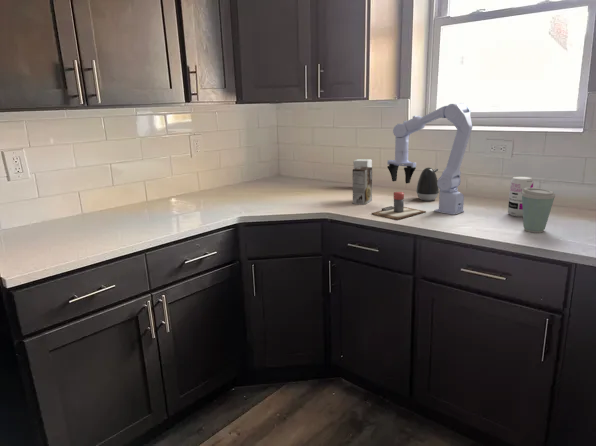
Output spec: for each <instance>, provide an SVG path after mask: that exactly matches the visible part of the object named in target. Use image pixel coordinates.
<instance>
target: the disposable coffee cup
mask: <svg viewBox="0 0 596 446" xmlns="http://www.w3.org/2000/svg"><path fill="white" fill-rule="evenodd" d="M521 195H522V206H523V217H522V220H523V222H522V223H523V226H522V227H523V228H524V231H525V232H529V233H536V234H537V233H538V234H540V233H543V232H545V230H546V227H547V223H548V220H549V218H550V213H551V210H552V208H553V207H552V206H553V204H554V201H555V198H556V193H554V191H552V190H549V189H545V188H540V187H533V188H524V189H523V191H522V193H521Z"/></svg>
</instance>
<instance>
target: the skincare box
mask: <svg viewBox="0 0 596 446" xmlns="http://www.w3.org/2000/svg"><path fill="white" fill-rule="evenodd" d="M352 162H353V169H355V168H358V167H372V168H373V160H372V159H370V158H369V159H368V158H366V159H365V158H361V159H360V158H357V159H354V160H353V161H352Z"/></svg>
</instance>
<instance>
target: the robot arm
mask: <svg viewBox="0 0 596 446" xmlns="http://www.w3.org/2000/svg"><path fill="white" fill-rule="evenodd" d="M471 111H472V110H470V108H469V106H468V105H467V104H466V103H464V102H463V103H462V102H460V103H450V104H448V105H444V106H441V107H439V108H437V109H435V110H433V111H431V112H429V113H427V114H425V115H423V116H420V115H413V116H412V118H410V119H408V120H403V123H397V124H396V125H394V126H393V130H392V134H393V135H394V137H395V139H394V141H395V142H394V143H395V144H394V145H395V146H394V159H389V160H388V159H387V169H388V172H389V173H390V176H391V181H392V182H397V178H398V170H399V167H403V170H404V175H405V177H404V178H405V180H404V181H405V184H410V183H411V180H412V177H413V174H414V172H415V170H416V169H417V168H416V167H417V162H412V161H410V160H409V147H410V145H409V143H410V135H411V134H413V133H417V132H418V131H421V130H422V129H424V128H425V127H426V125H427V124H429V123H432V122H434V121H436V120H439V119H441V118H442V119H447V120H448V121H449V122H450V123H451V124H453V125H454V127H455V128H456V132H455V136H454V139H453V142H452V143H453V144H452V146H451V150H450V153H449V156H448V160H447V163H446V167H445V168H444V169H443V171H442V173H441V176H440V177H439V178H437V180H438V181H437V185H438V188H439V193H438V195H439V196H438V208H436V209H434V212H437V213H443V214H448V215H451V216H452V215H454V216H455V215H457V214H461V213H464V212H465V210H464V203H465V195H464V194H463V193H462V192H460V191H459V190H458V187H459V186H460V184H461V182H462V181H461V175H462V172H461V166H462V163H463V160H464V159H463V158H464V156H465V153H466V149H467V147H468V143H469V139H470V136H471V133H472V130H473V123H472V118H471Z"/></svg>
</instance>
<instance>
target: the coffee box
mask: <svg viewBox="0 0 596 446" xmlns="http://www.w3.org/2000/svg"><path fill="white" fill-rule="evenodd" d="M372 201H373V166H372V167H358V168H355V169H354V168H353V169H352V204H354V205H363V206H365V205H367V204H368V203H370V202H372Z"/></svg>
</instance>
